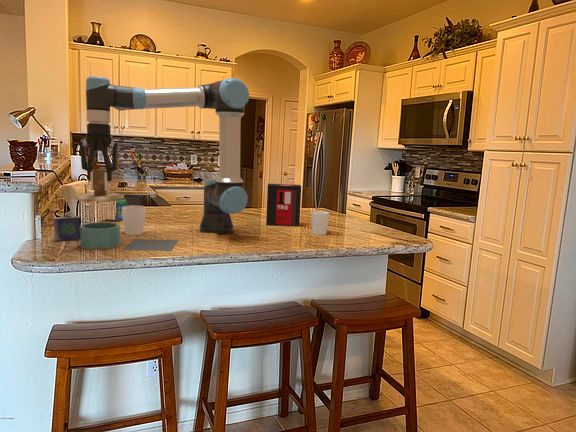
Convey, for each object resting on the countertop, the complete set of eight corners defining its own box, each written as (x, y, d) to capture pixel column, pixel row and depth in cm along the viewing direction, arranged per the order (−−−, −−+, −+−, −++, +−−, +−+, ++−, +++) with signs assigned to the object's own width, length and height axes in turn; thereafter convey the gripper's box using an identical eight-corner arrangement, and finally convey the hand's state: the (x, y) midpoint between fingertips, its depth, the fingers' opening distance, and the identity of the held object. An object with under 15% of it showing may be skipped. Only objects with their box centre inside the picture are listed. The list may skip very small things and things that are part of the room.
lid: (129, 196, 161) (128, 169, 160) (117, 202, 145) (116, 172, 144) (84, 195, 159) (84, 167, 158) (68, 200, 144) (66, 170, 142)
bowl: (123, 243, 163) (123, 222, 161) (113, 251, 150) (113, 229, 148) (88, 242, 161) (87, 221, 160) (75, 251, 148) (74, 228, 147)
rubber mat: (178, 242, 168) (178, 239, 168) (171, 253, 151) (171, 250, 151) (133, 241, 166) (133, 239, 166) (122, 252, 149) (121, 249, 149)
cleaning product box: (266, 225, 211) (267, 185, 208) (266, 222, 220) (267, 183, 216) (299, 226, 212) (301, 186, 208) (298, 223, 220) (300, 184, 217)
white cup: (330, 233, 199) (331, 212, 197) (324, 236, 192) (325, 214, 190) (314, 231, 202) (315, 210, 200) (308, 234, 195) (309, 212, 193)
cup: (137, 238, 171) (137, 209, 169) (117, 236, 172) (117, 207, 170) (149, 234, 179) (149, 206, 177) (130, 232, 181) (129, 204, 179)
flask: (54, 241, 160) (53, 213, 158) (54, 240, 162) (53, 212, 161) (81, 240, 165) (81, 212, 163) (81, 238, 167) (80, 211, 165)
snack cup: (121, 216, 216) (121, 197, 214) (135, 219, 210) (134, 199, 208) (93, 220, 203) (92, 199, 201) (106, 223, 197) (106, 202, 195)
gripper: (126, 125, 153) (127, 190, 157) (77, 122, 151) (78, 188, 155) (121, 124, 145) (122, 192, 149) (68, 121, 143) (71, 190, 147)
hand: (100, 190), depth 152 cm, fingers closed on lid, 4 cm apart
